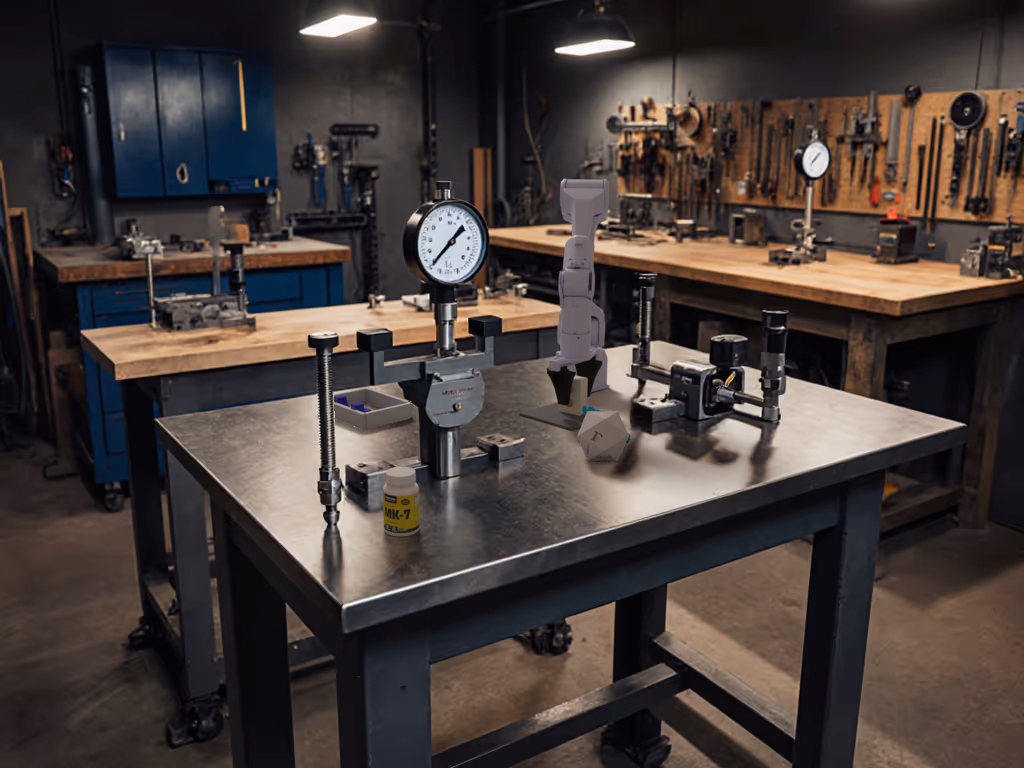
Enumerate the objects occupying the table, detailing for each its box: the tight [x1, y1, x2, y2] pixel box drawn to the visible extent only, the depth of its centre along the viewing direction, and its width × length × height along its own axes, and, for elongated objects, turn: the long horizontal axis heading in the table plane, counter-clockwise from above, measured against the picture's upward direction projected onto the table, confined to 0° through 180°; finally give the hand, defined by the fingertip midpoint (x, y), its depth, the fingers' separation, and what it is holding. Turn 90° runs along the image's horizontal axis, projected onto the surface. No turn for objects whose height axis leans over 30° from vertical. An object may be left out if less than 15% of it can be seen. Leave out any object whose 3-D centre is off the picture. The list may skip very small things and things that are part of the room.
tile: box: [559, 376, 588, 416], centre depth 170 cm, size 2×5×7 cm, turn 52°
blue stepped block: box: [334, 395, 372, 413], centre depth 167 cm, size 8×4×4 cm, turn 40°
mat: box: [518, 401, 603, 432], centre depth 170 cm, size 13×14×1 cm
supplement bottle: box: [382, 466, 420, 537], centre depth 117 cm, size 5×5×8 cm
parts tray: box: [333, 387, 414, 431], centre depth 169 cm, size 12×16×3 cm
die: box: [577, 410, 630, 462], centre depth 146 cm, size 8×9×10 cm
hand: (574, 400), depth 170 cm, fingers open, 7 cm apart
